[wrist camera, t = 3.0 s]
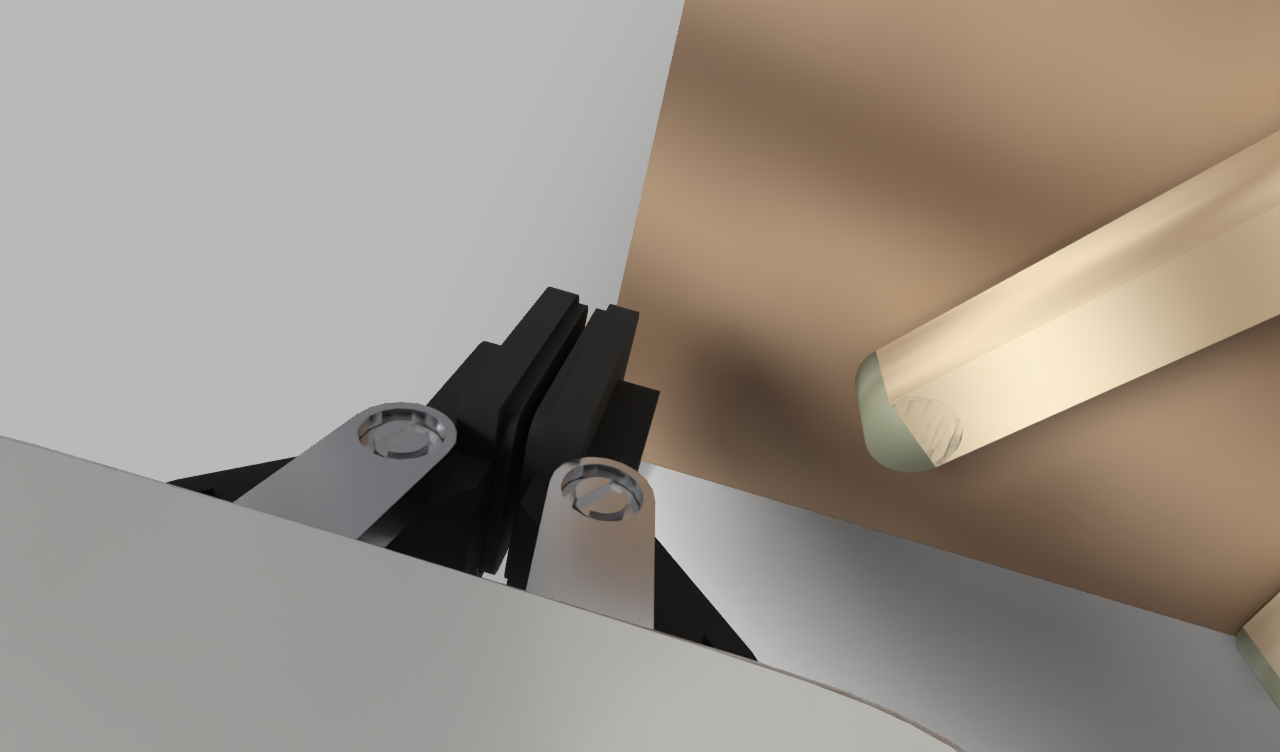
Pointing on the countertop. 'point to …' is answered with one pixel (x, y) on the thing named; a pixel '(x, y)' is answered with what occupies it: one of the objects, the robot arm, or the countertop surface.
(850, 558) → the countertop surface
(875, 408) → the tong arm
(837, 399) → the board
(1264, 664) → the tongs fixed
